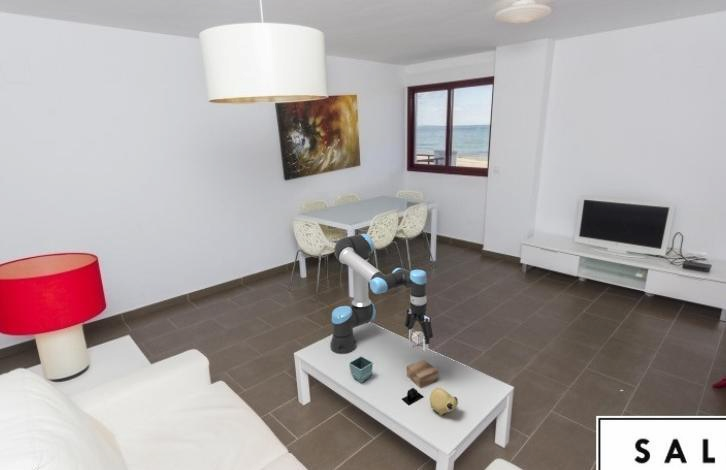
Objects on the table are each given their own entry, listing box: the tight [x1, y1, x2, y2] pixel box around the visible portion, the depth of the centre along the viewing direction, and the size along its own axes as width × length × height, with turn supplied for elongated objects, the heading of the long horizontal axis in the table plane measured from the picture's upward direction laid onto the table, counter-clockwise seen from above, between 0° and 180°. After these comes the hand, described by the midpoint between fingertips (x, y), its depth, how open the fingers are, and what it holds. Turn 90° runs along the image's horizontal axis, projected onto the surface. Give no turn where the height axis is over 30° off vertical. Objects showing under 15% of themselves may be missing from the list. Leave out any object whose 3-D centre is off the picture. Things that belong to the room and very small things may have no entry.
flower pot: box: [348, 355, 374, 383], centre depth 191 cm, size 9×9×9 cm
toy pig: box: [429, 387, 459, 416], centre depth 166 cm, size 10×12×11 cm
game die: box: [408, 329, 424, 348], centre depth 184 cm, size 9×8×10 cm
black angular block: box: [401, 387, 425, 407], centre depth 176 cm, size 12×7×5 cm, turn 125°
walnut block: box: [406, 359, 439, 389], centre depth 189 cm, size 11×11×6 cm
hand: (418, 345), depth 185 cm, fingers closed on game die, 9 cm apart
